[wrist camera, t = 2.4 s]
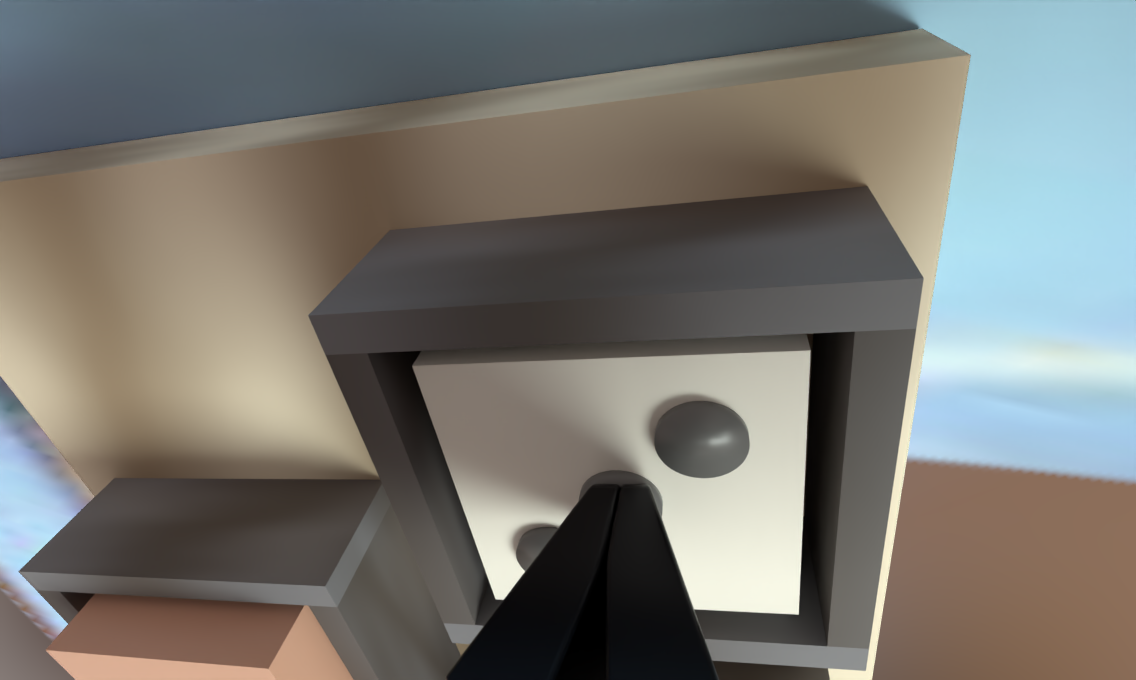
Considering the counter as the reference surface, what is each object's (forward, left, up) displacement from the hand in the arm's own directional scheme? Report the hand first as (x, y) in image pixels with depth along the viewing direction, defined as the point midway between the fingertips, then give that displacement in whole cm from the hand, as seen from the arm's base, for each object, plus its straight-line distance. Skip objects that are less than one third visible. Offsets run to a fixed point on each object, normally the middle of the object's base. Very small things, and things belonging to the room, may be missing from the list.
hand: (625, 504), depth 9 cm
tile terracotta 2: (+9, +6, -1) cm, 11 cm away
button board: (+5, +6, -4) cm, 8 cm away
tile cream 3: (0, 0, -2) cm, 2 cm away
